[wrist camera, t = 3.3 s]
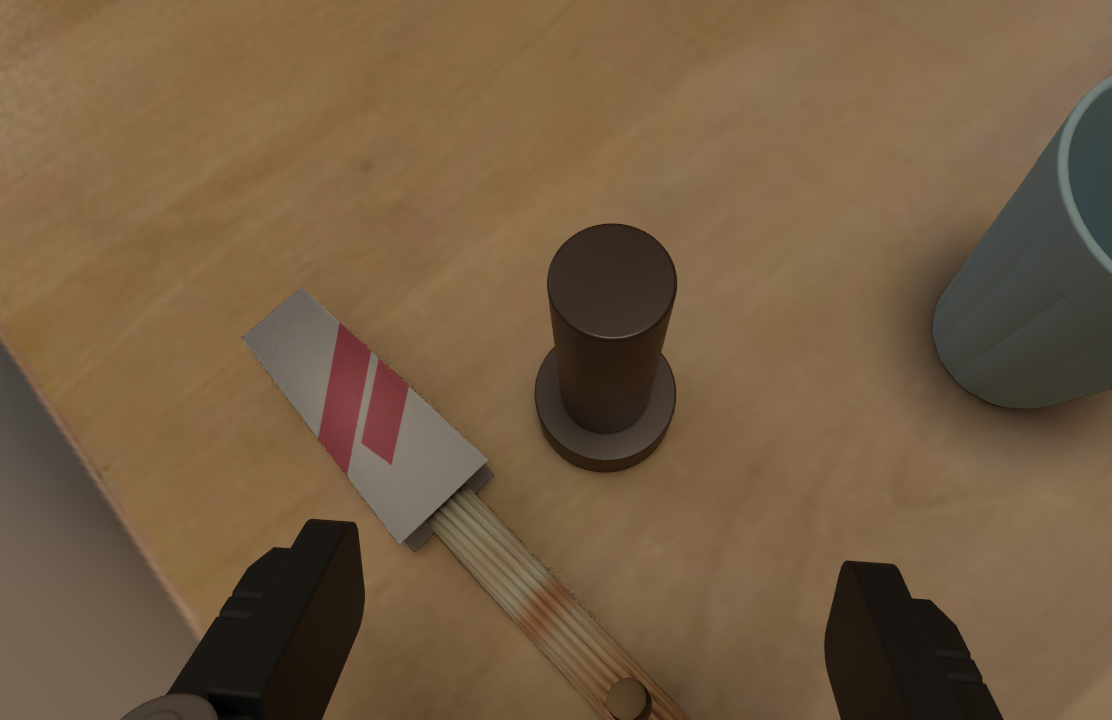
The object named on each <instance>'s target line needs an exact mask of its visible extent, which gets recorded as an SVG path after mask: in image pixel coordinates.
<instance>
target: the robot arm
mask: <svg viewBox="0 0 1112 720" xmlns="http://www.w3.org/2000/svg"><path fill="white" fill-rule="evenodd" d="M364 603H365V589H364V579H363V570H362V561H361V552H360V543H359V533H358V528H357V525H356V524H355V523H354V522H348V521H334V520H321V519H309V520H308V521H307V522H306V523H305V525H304V526H303V528H302V530H301V531H300V533H299V535H298V536H297V538H296V540H295V541H294V543H293V545H292V547H291V548H278V547H274V548H272V549H271V550H270V551H269V552H267V553H266V554H265V555H263V556H262V557H261V558H260V559H258V560H257V561H256V562H255V563H253V564H252V565H251V566H249V567H248V569H247V570H246V572H245V573H244V575H243V576H242V578H241V579H240V581H239V583H238V584H237V586H236V587H235V589H234V590H233V594H232V597H229V598H228V600H227V601H226V603H225V604H224V606H223V607H222V609H221V611H220V615H219V617H216V618H215V620H214V621H213V623H212V625H211V626H210V628H209V629H208V631H207V632H206V634H205V635H204V637H203V639H202V640H201V642H200V643H199V645H198V646H197V648H196V650H195V651H194V653H193V654H192V656H191V657H190V659H189V660H188V662H187V663H186V665H185V667H184V668H183V670H182V671H181V673H180V674H179V676H178V677H177V679H176V680H175V682H174V684H173V685H172V687H171V688H170V690H169V691H168V693H167V694H166V695H165V696H161V697H158V698H155V699H152V700H150V701H148V702H145V703H143V704H141V705H140V706H138V707H136V708H135V709H133V710H132V711H130V712H129V713H128V714H126V715H125V716H124V717H123V718H122V719H120V720H322V718H323V716H324V713H325V711H326V708H327V706H328V704H329V701H330V699H331V696H332V694H333V691H334V689H335V687H336V684H337V682H338V679H339V677H340V674H341V672H342V670H343V667H344V665H345V662H346V660H347V658H348V655H349V653H350V650H351V648H352V645H353V643H354V641H355V638H356V636H357V633H358V631H359V628H360V625H361V621H362V617H363V611H364ZM824 649H825V662H826V668H827V672H828V676H829V679H830V683H831V686H832V690H833V694H834V697H835V701H836V704H837V708H838V711H839V715H840V718H841V720H1004V719H1003V717H1002V715H1001V713H1000V711H999V709H998V707H997V705H996V703H995V701H994V699H993V697H992V695H991V693H990V692H989V690H988V688H987V686H986V684H985V683H983V682H982V676H981V674H980V672H979V670H978V668H977V666H976V664H975V662H974V660H971V658H970V652H969V650H968V648H967V646H966V644H965V642H964V640H963V638H962V636H961V634H960V632H959V630H958V628H957V626H956V625H955V624H954V623H953V622H952V621H951V620H950V619H949V618H948V617H947V616H946V615H945V614H944V613H943V612H942V611H941V610H940V609H939V608H938V607H937V606H936V605H935V604H934V603H933V602H932V601H931V600H926V599H913V598H912V597H911V595H910V593H909V591H908V588H907V586H906V584H905V582H904V580H903V577H902V575H901V573H900V571H899V569H898V568H897V566H895V565H894V564H887V563H873V562H860V561H845V562H844V563H843V564H842V567H841V570H840V573H839V577H838V581H837V586H836V590H835V594H834V598H833V602H832V606H831V610H830V615H829V619H828V623H827V627H826V632H825V643H824Z"/></svg>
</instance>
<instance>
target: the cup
mask: <svg viewBox="0 0 1112 720" xmlns="http://www.w3.org/2000/svg"><path fill="white" fill-rule="evenodd" d="M932 332H933V338H934V342H935V346H936V349H937V352H938V355H939V358H940V359H941V361H942V363H943V365H944V366H945V368H946V369H947V370H948V371H949V373H950V374H951V375H952V376H953V378H954V379H955V380H956V381H957V382H958V383H959V384H960V385H961V386H962V387H964V388H965V389H966V390H967V391H969V392H970V393H972V394H974V395H976V396H978V397H979V398H981V399H983V400H985V401H987V402H990V403H992V404H995V405H998V406H1002V407H1009V408H1022V409H1035V408H1041V407H1046V406H1050V405H1054V404H1058V403H1061V402H1065V401H1068V400H1072V399H1075V398H1079V397H1083V396H1086V395H1090V394H1093V393H1097V392H1101V391H1104V390H1108V389H1111V388H1112V75H1111V76H1109V77H1108V78H1106V79H1105V80H1103V81H1102V82H1100V83H1099V84H1097V85H1096V86H1095V87H1094V88H1092V89H1091V90H1090V91H1089V92H1088V93H1087V94H1086V95H1085V96H1084V97H1083V98H1082V99H1081V100H1080V101H1079V103H1078V104H1077V105H1076V106H1075V107H1074V109H1073V110H1072V112H1071V113H1070V114H1069V116H1068V117H1067V119H1066V120H1065V121H1064V123H1063V124H1062V126H1061V127H1060V129H1059V130H1058V131H1057V133H1056V134H1055V136H1054V137H1053V138H1052V140H1051V141H1050V143H1049V144H1048V145H1047V147H1046V148H1045V150H1044V151H1043V153H1042V154H1041V155H1040V157H1039V158H1038V160H1037V162H1036V163H1035V165H1034V166H1033V168H1032V169H1031V171H1030V172H1029V173H1028V175H1027V176H1026V178H1025V179H1024V180H1023V182H1022V183H1021V185H1020V186H1019V187H1018V189H1017V190H1016V192H1015V193H1014V194H1013V196H1012V197H1011V199H1010V200H1009V201H1008V203H1007V204H1006V206H1005V207H1004V208H1003V210H1002V211H1001V213H1000V214H999V215H998V217H997V218H996V220H995V221H994V222H993V224H992V225H991V227H990V228H989V229H988V231H987V232H986V234H985V235H984V236H983V238H982V239H981V241H980V242H979V243H978V245H977V246H976V248H975V249H974V250H973V252H972V253H971V255H970V256H969V257H968V259H967V260H966V262H965V263H964V264H963V266H962V267H961V269H960V270H959V271H958V273H957V274H956V276H955V277H954V278H953V280H952V281H951V283H950V284H949V286H948V287H947V288H946V290H945V291H944V293H943V294H942V296H941V297H940V299H939V301H938V303H937V305H936V309H935V314H934V320H933V326H932Z"/></svg>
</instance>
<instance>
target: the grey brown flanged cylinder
mask: <svg viewBox="0 0 1112 720" xmlns="http://www.w3.org/2000/svg"><path fill="white" fill-rule="evenodd" d="M547 290H548V297H549V305H550V313H551V321H552V328H553V336H554V344H555V347H554V348H553V349H551V351H550V352H549V353H548V355H547V356H546V357H545V359H544V361H543V363H542V364H541V367H540V369H539V371H538V375H537V378H536V384H535V402H536V408H537V412H538V416H539V420H540V424H541V427H542V430H543V432H544V435H545V437H546V438H547V440H548V442H549V443H550V445H551V446H552V447H553V448H554V450H555V451H556V452H557V453H558V454H559V455H561V456H562V457H563V458H564V459H566V460H567V461H569V462H570V463H572V464H574V465H576V466H578V467H581V468H583V469H587V470H591V471H597V472H613V471H619V470H623V469H627V468H629V467H632V466H634V465H636V464H638V463H640V462H641V461H643V460H644V459H646V458H647V457H648V456H649V455H651V454H652V452H653V451H654V450H655V449H656V448H657V447H658V445H659V444H660V443H661V441H662V439H663V438H664V436H665V434H666V431H667V429H668V426H669V424H670V421H671V418H672V415H673V413H674V408H675V404H676V385H675V380H674V376H673V373H672V370H671V368H670V366H669V364H668V362H667V360H666V359H665V357H664V356H663V354H662V353H661V351H662V347H663V343H664V340H665V336H666V332H667V328H668V324H669V320H670V316H671V312H672V309H673V305H674V301H675V297H676V292H677V275H676V270H675V267H674V264H673V261H672V259H671V257H670V256H669V254H668V252H667V251H666V250H665V248H664V247H663V246H662V245H661V244H660V243H659V242H658V241H657V240H656V239H655V238H653V237H652V236H651V235H649V234H648V233H646V232H644V231H642V230H640V229H638V228H635V227H632V226H628V225H623V224H601V225H596V226H592V227H589V228H586V229H584V230H582V231H580V232H578V233H576V234H575V235H573V236H572V237H571V238H569V239H568V240H567V241H566V242H565V243H564V244H563V245H562V246H561V247H560V248H559V250H558V251H557V252H556V254H555V256H554V257H553V260H552V262H551V264H550V267H549V271H548V277H547Z"/></svg>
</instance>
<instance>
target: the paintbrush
mask: <svg viewBox="0 0 1112 720" xmlns="http://www.w3.org/2000/svg"><path fill="white" fill-rule="evenodd" d="M242 339H243V340H244V342H245V343H246V344H247V346H248V347H249V348H250V350H251V351H252V352H253V353H254V355H255V356H256V357H257V359H258V360H259V361H260V363H261V364H262V365H263V367H264V368H265V369H266V370H267V372H268V373H269V374H270V376H271V377H272V378H273V380H274V381H275V382H276V384H277V385H278V386H279V388H280V389H281V390H282V391H283V393H284V394H285V395H286V397H287V398H288V399H289V401H290V402H291V403H292V405H293V406H294V407H295V408H296V410H297V411H298V412H299V414H300V415H301V416H302V418H303V419H304V420H305V422H306V423H307V424H308V426H309V427H310V428H311V429H312V431H313V432H314V433H315V435H316V436H317V437H318V439H319V440H320V441H321V443H322V444H323V445H324V447H325V448H326V449H327V450H328V452H329V453H330V454H331V456H332V457H333V458H334V460H335V461H336V462H337V464H338V465H339V466H340V467H341V469H342V470H343V471H344V473H345V474H346V475H347V477H348V478H349V479H350V481H351V482H352V483H353V485H354V486H355V487H356V488H357V490H358V491H359V492H360V494H361V495H362V496H363V498H364V499H365V500H366V502H367V503H368V504H369V506H370V507H371V508H372V509H373V511H374V512H375V513H376V515H377V516H378V517H379V519H380V520H381V521H382V523H383V524H384V525H385V526H386V528H387V529H388V530H389V532H390V533H391V534H392V536H393V537H394V538H395V540H396V541H397V542H398V544H399V545H400V544H401V543H402V542H403V541H404V542H405V543H406V544H407V545H408V546H409V547H410V548H411V549H412V550H413V551H414V552H415V551H416V550H417V549H418V548H419V547H420V546H421V545H422V544H423V543H424V542H425V541H426V540H428V539H429V538H430V537H431V536H432V535H433V534H434V533H436V534H437V535H438V536H439V538H440V539H441V540H442V541H443V542H444V544H445V545H446V546H447V547H448V548H449V549H450V550H451V551H452V552H453V554H454V555H455V556H456V557H457V558H458V559H459V560H460V561H461V562H462V564H463V565H464V566H465V567H466V568H467V569H468V570H469V571H470V572H471V573H472V575H473V576H474V577H475V578H476V579H477V580H478V581H479V582H480V583H481V585H482V586H483V587H484V588H485V589H486V590H487V591H488V592H489V593H490V594H491V596H492V597H493V598H494V599H495V600H496V601H497V602H498V603H499V604H500V606H501V607H502V608H503V609H504V610H505V611H506V612H507V613H508V614H509V615H510V616H511V618H512V619H513V620H514V621H515V622H516V623H517V624H518V625H519V626H520V627H521V629H522V630H523V631H524V632H525V633H526V634H527V635H528V636H529V637H530V638H531V639H532V641H533V642H534V643H535V644H536V645H537V646H538V647H539V648H540V649H541V650H542V651H543V653H544V654H545V655H546V656H547V657H548V658H549V659H550V660H551V661H552V662H553V663H554V665H555V666H556V667H557V668H558V669H559V670H560V671H561V672H562V673H563V674H564V675H565V677H566V678H567V679H568V680H569V681H570V682H571V683H572V684H573V685H574V686H575V688H576V689H577V690H578V691H579V692H580V693H581V694H582V695H583V696H584V697H585V698H586V700H587V701H588V702H589V703H590V704H591V705H592V706H593V707H594V708H595V709H596V710H597V712H598V713H599V714H600V715H601V716H602V717H603V718H604V719H605V720H620V719H618V718H616V717H615V716H613V715H612V714H611V712H610V711H609V710H608V706H607V697H608V693H609V691H610V689H611V687H612V686H613V684H615V683H616V682H618V681H619V680H621V679H625V678H632V679H636V680H638V681H639V682H640V683H641V684H642V685H643V686H644V688H645V691H646V693H647V704H646V707H645V709H644V710H643V712H642V714H641V715H640V716H638V717H636V718H635V719H633V720H689V719H688V718H687V717H686V716H685V715H684V714H683V713H682V712H681V711H680V709H679V708H678V707H677V706H676V705H675V704H674V703H673V702H672V701H671V700H670V699H669V698H668V697H667V696H666V695H665V694H664V693H663V692H662V691H661V690H660V689H659V688H658V687H657V686H656V685H655V684H654V683H653V681H652V680H651V679H650V678H649V677H648V676H647V675H646V674H645V673H644V672H643V671H642V670H641V669H640V668H639V667H638V666H637V665H636V664H635V663H634V662H633V661H632V660H631V659H630V658H629V657H628V656H627V654H626V653H625V652H624V651H623V650H622V649H621V648H620V647H619V646H618V645H617V644H616V643H615V642H614V641H613V640H612V639H611V638H610V637H609V635H608V634H607V633H606V632H605V631H604V630H603V629H602V628H601V627H600V626H599V625H598V624H597V623H596V622H595V621H594V619H593V618H592V617H591V616H590V615H589V614H588V613H587V612H586V611H585V610H584V609H583V608H582V607H581V606H580V605H579V604H578V602H577V601H576V600H575V599H574V598H573V597H572V596H571V595H570V594H569V593H568V592H567V591H566V590H565V589H564V588H563V587H562V586H561V585H560V583H559V582H558V581H557V580H556V579H555V578H554V577H553V576H552V575H551V574H550V573H549V572H548V571H547V570H546V569H545V568H544V567H543V565H542V564H541V563H540V562H539V561H538V560H537V559H536V558H535V557H534V556H533V555H532V554H531V553H530V552H529V551H528V550H527V549H526V547H525V546H524V545H523V544H522V543H521V542H520V541H519V540H518V539H517V538H516V537H515V536H514V535H513V534H512V533H511V532H510V531H509V529H508V528H507V527H506V526H505V525H504V524H503V523H502V522H501V521H500V520H499V519H498V518H497V517H496V516H495V515H494V514H493V513H492V512H491V511H490V509H489V508H488V507H487V506H486V505H485V504H484V503H483V502H482V501H481V500H480V499H479V498H478V497H477V496H476V495H475V493H476V492H477V491H478V490H479V489H480V488H481V487H482V486H483V485H484V484H486V483H487V482H488V481H489V480H490V479H491V478H492V477H493V476H494V474H493V472H492V471H491V470H490V469H489V468H488V467H487V466H486V465H485V463H486V462H487V461H488V459H487V458H486V457H485V456H484V455H483V454H482V453H480V452H479V451H478V450H477V449H476V448H475V447H474V446H473V445H472V444H471V443H470V442H469V441H467V440H466V439H465V438H464V437H463V436H462V435H461V434H460V433H459V432H458V431H457V430H456V429H455V428H453V427H452V426H451V425H450V424H449V423H448V422H447V421H446V420H445V419H444V418H443V417H442V416H440V415H439V414H438V413H437V412H436V411H435V410H434V409H433V408H432V407H431V406H430V405H429V404H428V403H426V402H425V401H424V400H423V399H422V398H421V397H420V396H419V395H418V394H417V393H416V392H415V391H414V390H412V389H411V388H410V387H409V386H408V385H407V384H406V383H405V382H404V381H403V380H402V379H401V378H399V377H398V376H397V375H396V374H395V373H394V372H393V371H392V370H391V369H390V368H389V367H388V366H387V365H385V364H384V363H383V362H382V361H381V360H380V359H379V358H378V357H377V356H376V355H375V354H374V353H372V352H371V351H370V350H369V349H368V348H367V347H366V346H365V345H364V344H363V343H362V342H361V341H360V340H358V339H357V338H356V337H355V336H354V335H353V334H352V333H351V332H350V331H349V330H348V329H347V328H346V327H344V326H343V325H342V324H341V323H340V322H339V321H338V320H337V319H336V318H335V317H334V316H333V315H331V314H330V313H329V312H328V311H327V310H326V309H325V308H324V307H323V306H322V305H321V304H320V303H319V302H317V301H316V300H315V299H314V298H313V297H312V296H311V295H310V294H309V293H308V292H307V291H306V290H304V289H303V288H302V287H301V288H300V289H298V290H297V291H296V292H295V293H294V294H293V295H291V296H290V297H289V298H288V299H287V300H285V301H284V302H283V303H282V304H281V305H280V306H278V307H277V308H276V309H275V310H274V311H272V312H271V313H270V314H269V315H268V316H266V317H265V318H264V319H263V320H262V321H261V322H259V323H258V324H257V325H256V326H255V327H253V328H252V329H251V330H250V331H249V332H248V333H246V334H245V335H244V336H243V337H242Z"/></svg>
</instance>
